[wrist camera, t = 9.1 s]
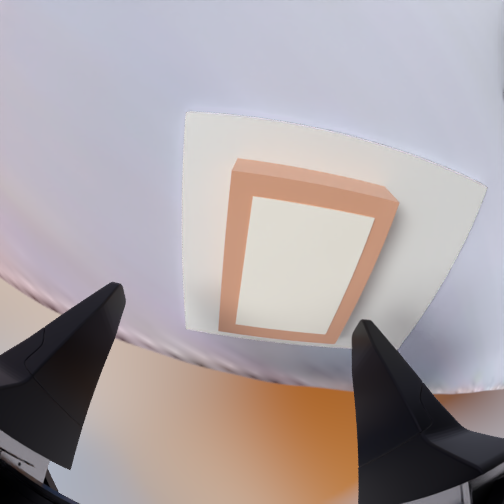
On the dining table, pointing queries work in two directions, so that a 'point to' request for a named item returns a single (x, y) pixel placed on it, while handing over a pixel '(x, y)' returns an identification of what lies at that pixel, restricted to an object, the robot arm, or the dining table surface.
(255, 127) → the mat
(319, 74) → the dining table surface
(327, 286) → the tile
